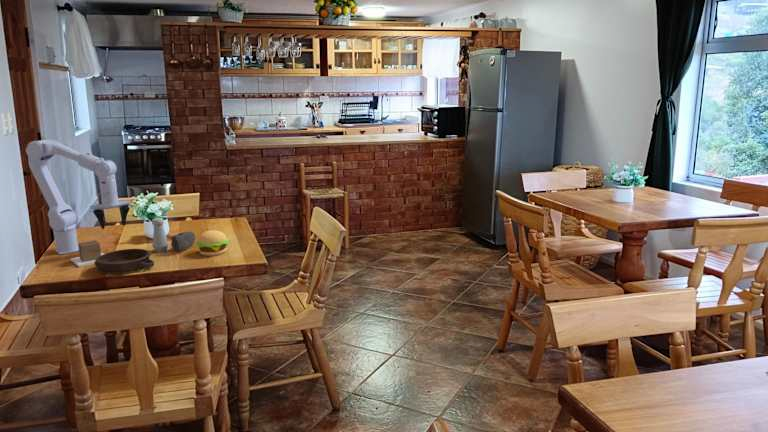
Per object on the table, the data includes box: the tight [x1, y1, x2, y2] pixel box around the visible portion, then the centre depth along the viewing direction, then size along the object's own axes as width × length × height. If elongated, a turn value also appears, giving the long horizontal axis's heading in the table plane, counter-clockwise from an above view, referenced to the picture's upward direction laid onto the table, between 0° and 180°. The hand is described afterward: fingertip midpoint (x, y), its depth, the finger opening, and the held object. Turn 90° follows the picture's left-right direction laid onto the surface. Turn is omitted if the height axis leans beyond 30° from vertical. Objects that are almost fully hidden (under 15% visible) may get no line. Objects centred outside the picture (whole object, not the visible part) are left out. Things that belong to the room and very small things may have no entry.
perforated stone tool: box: [170, 231, 196, 253], centre depth 228 cm, size 15×5×7 cm, turn 166°
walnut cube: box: [78, 239, 102, 262], centre depth 215 cm, size 6×6×6 cm
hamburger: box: [196, 229, 230, 257], centre depth 222 cm, size 12×12×9 cm
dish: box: [94, 248, 155, 274], centre depth 206 cm, size 18×22×5 cm
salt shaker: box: [151, 217, 169, 253], centre depth 225 cm, size 6×6×13 cm
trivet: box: [70, 252, 105, 268], centre depth 215 cm, size 11×11×1 cm
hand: (113, 226), depth 225 cm, fingers open, 7 cm apart
